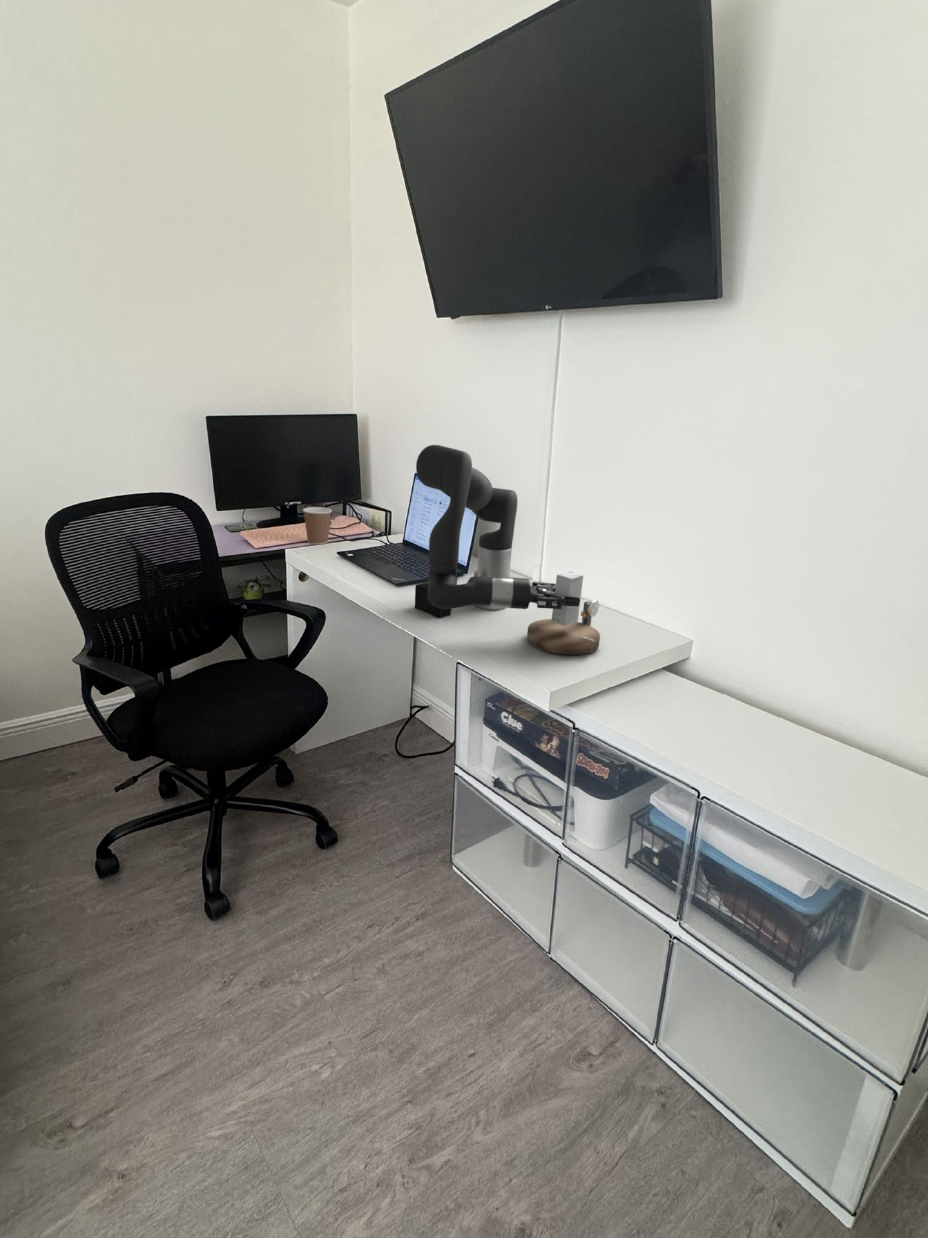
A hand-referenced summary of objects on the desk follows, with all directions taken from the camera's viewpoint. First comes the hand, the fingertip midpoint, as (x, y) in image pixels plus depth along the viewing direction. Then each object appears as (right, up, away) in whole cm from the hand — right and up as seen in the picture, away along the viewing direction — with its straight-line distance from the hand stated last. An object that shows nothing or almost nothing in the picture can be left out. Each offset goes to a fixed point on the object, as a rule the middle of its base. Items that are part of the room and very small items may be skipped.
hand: (576, 597), depth 172 cm
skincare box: (-3, -6, +2) cm, 7 cm away
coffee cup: (-81, +23, +85) cm, 120 cm away
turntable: (-3, -11, +4) cm, 12 cm away
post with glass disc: (+4, -9, +13) cm, 16 cm away
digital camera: (-36, -4, +21) cm, 42 cm away
